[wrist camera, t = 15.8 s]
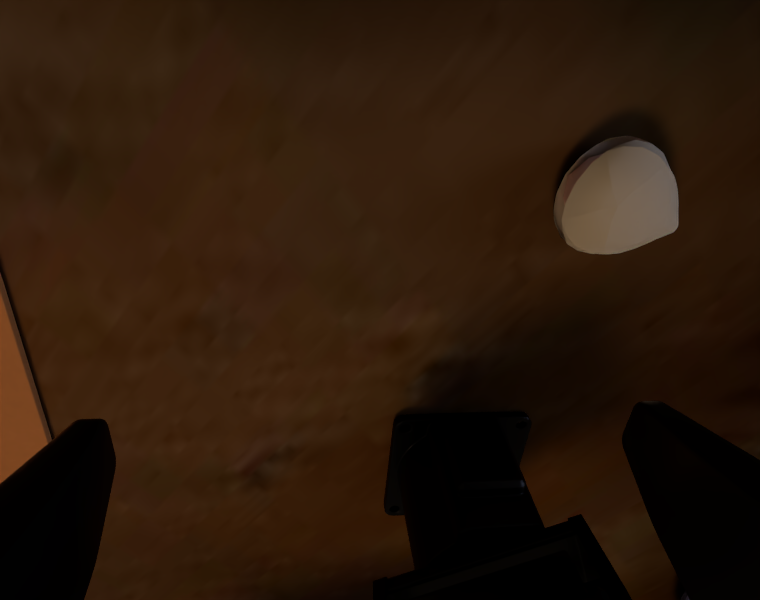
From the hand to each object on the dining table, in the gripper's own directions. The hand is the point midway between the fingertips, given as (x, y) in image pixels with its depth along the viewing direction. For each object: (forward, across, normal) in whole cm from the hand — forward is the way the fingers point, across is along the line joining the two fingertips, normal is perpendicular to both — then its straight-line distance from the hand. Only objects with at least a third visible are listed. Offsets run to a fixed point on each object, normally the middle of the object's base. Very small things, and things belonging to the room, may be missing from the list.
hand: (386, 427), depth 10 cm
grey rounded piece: (+12, -10, 0) cm, 16 cm away
